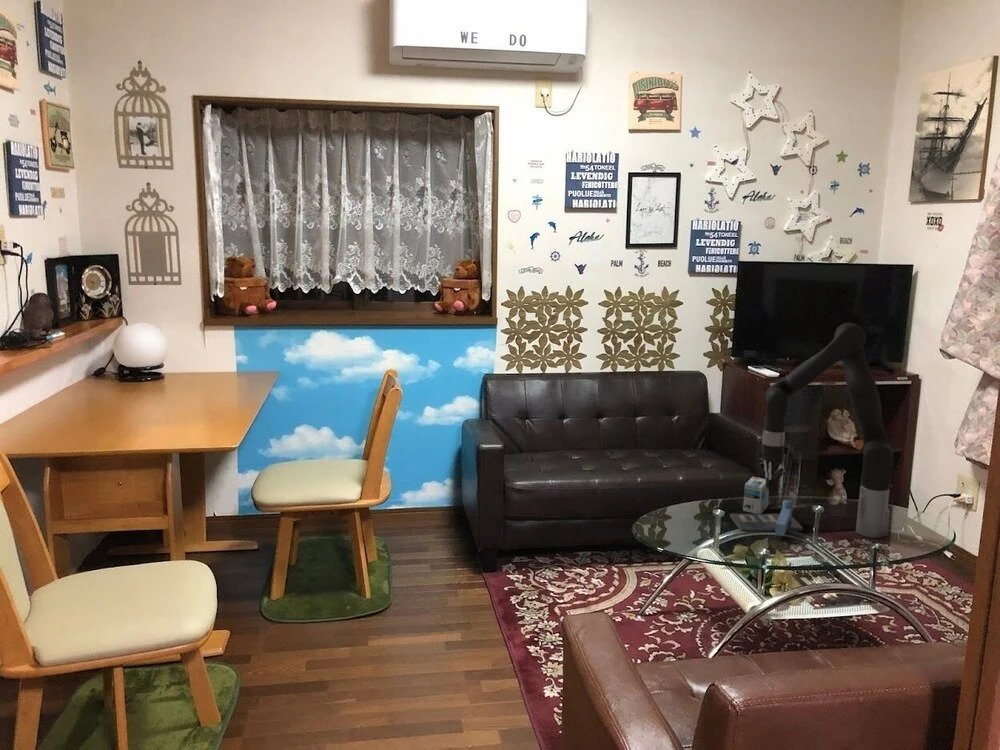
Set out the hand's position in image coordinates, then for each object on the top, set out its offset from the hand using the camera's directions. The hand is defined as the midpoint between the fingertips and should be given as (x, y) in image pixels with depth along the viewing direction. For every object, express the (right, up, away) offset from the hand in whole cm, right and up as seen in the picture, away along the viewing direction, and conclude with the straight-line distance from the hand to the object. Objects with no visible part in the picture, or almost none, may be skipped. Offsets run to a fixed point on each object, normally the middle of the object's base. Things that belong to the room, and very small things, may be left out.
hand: (769, 488), depth 287 cm
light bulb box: (0, -10, +16) cm, 19 cm away
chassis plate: (-1, -13, +1) cm, 13 cm away
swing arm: (+3, -12, -5) cm, 14 cm away
